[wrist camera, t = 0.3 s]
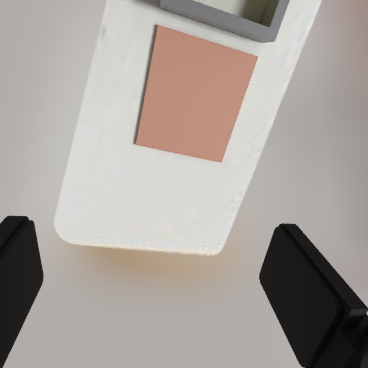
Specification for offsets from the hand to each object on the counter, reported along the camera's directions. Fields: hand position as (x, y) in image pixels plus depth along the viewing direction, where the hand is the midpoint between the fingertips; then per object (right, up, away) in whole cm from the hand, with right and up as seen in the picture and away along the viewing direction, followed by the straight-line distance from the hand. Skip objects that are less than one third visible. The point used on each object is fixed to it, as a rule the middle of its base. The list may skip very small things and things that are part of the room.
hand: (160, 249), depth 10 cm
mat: (+2, +15, +27) cm, 30 cm away
